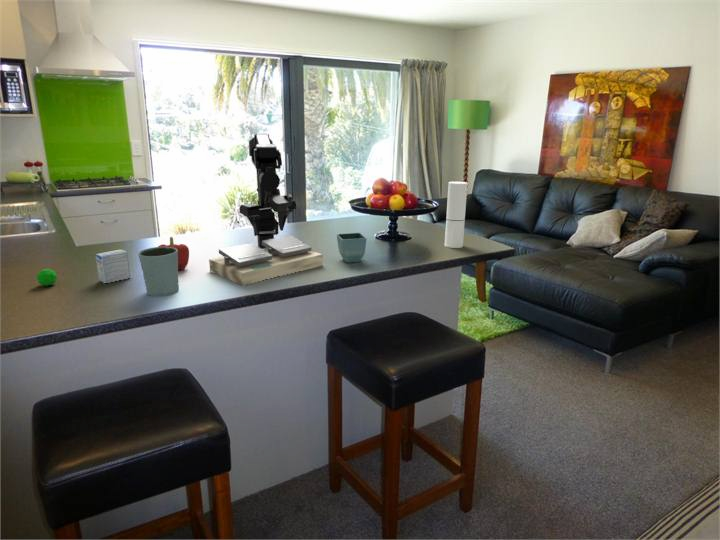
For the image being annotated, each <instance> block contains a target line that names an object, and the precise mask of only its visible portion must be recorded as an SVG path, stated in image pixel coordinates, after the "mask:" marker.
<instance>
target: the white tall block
mask: <svg viewBox="0 0 720 540" xmlns="http://www.w3.org/2000/svg"><path fill="white" fill-rule="evenodd" d="M447 186H448V187H447V199H446V201H447V204H446V217H445V219H446V221H445V230H444V231H445V234H444V247H446V248H449V249H450V248H452V249H461V248H463V246H464V233H465V224H466V223H465V221H466V219H465V218H466V211H467V210H466V208H467V207H466V206H467V197H468V196H467V194H468V182H467V181H448V185H447Z"/></svg>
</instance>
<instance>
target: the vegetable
mask: <svg viewBox="0 0 720 540" xmlns="http://www.w3.org/2000/svg"><path fill="white" fill-rule="evenodd" d="M157 247H173V248H176V249H177V250H178V271H179V270H184V269H185V268H187V266H188V264H189V260H190V249H189V246H188V245H186V244H182V243H180V244H177V243H175V244H174V237H173V236H170V237H169V244H160V245H158V246H157Z"/></svg>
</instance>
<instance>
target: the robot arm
mask: <svg viewBox="0 0 720 540" xmlns="http://www.w3.org/2000/svg"><path fill="white" fill-rule="evenodd" d="M269 134H270V133H266V132H256V133H253V137H252V138H251V139H250V140H249V141H248V155H249V157H251V163H252V165H254V167H255V170H256V186H257V188H256V192H257V202H256V203H257V204H254V203H244V204H240V206H239V209H238V210H239V214H241V215H243V216H245V217H246V218H247V220H248V221H249V222H250V224H251V227H252V228H253V235H254V237H257V247H259V248H261V249H263V248H266V247H265V246H263V245H262V241H263V240H269V239H274V238H275V235H276V236H278V235H279V234H280V233H279V230H280V231H284V227H285V224H286V221H287V220H288V217H289V215H290V214H291V213H293V212H294V210H297V204H298V203H297V202H296V200H294V199H293V196H292V195H291V194H285V195H281V191H280V188H278V187H279V186H280V183H281V180H280V177H279V175H278V174H277V169H278V170H279V169H281V167H282V166H283V165H282V164H283V160H282V153H281V152H280V149H279V148H277V146H276V145H275V144H273V143H274V142H273V140H272V139H271V138H270V135H269ZM275 213H277V218H276V214H275Z"/></svg>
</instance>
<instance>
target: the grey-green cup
mask: <svg viewBox="0 0 720 540" xmlns="http://www.w3.org/2000/svg"><path fill="white" fill-rule="evenodd" d="M137 254H138V259H139V262H140V266H141V268H140V269H141V270H142V274H143V279H144V285H145V290H146V293H147V295H148V296H151V297H167V296H171V295H175V294H176V293H178V292H179V291H180V290H179V289H180V285H179V283H180V282H179V270H178V250H177V249H176V248H173V247H158V246H155V247H150V248H145V249H142V250H140V251H139V252H138V253H137ZM174 293H175V294H174Z"/></svg>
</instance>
